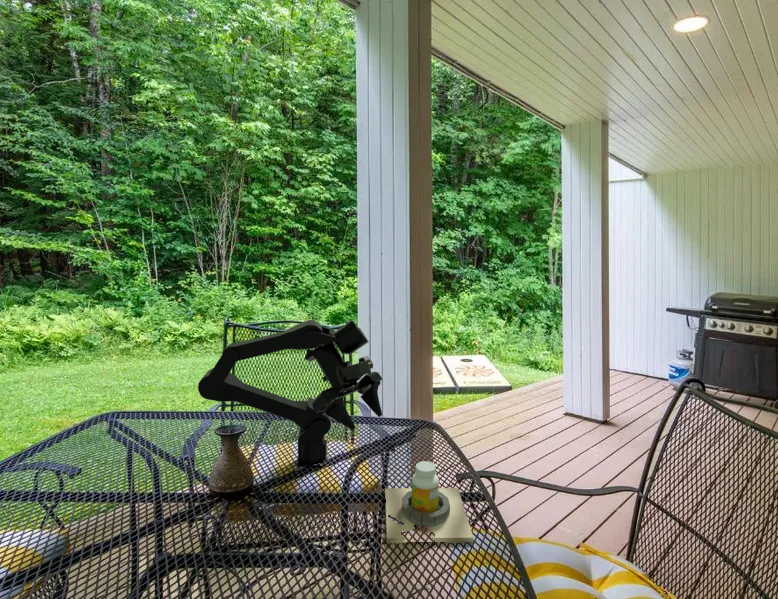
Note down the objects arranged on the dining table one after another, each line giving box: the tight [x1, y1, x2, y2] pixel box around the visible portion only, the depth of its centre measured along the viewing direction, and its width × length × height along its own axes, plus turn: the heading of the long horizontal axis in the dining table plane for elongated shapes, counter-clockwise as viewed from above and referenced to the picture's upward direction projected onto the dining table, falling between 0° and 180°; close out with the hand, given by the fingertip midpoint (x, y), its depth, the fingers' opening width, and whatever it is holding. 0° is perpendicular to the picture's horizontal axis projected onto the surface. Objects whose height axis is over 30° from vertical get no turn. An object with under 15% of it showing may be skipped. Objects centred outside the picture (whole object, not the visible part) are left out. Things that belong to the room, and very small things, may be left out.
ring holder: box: [384, 487, 474, 544], centre depth 90 cm, size 16×16×3 cm
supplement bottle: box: [411, 460, 440, 513], centre depth 90 cm, size 5×5×10 cm
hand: (367, 422), depth 102 cm, fingers open, 9 cm apart
